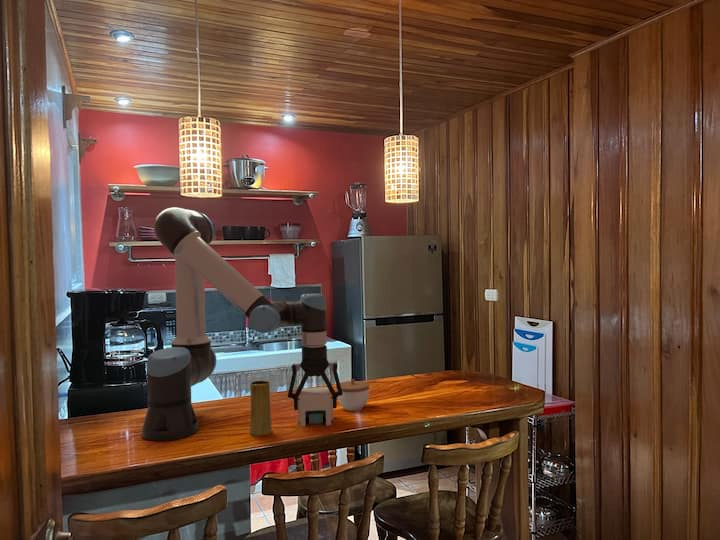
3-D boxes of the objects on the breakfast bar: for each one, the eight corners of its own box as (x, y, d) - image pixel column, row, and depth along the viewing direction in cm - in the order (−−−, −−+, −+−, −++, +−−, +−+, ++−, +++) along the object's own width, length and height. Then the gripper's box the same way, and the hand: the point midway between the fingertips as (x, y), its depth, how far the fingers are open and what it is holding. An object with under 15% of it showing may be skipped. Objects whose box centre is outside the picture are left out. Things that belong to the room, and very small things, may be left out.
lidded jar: (366, 413, 162) (365, 384, 162) (333, 412, 164) (332, 383, 164) (372, 404, 172) (371, 376, 172) (341, 403, 174) (340, 375, 174)
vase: (246, 435, 143) (245, 384, 143) (254, 428, 149) (253, 379, 149) (268, 436, 142) (267, 385, 142) (274, 429, 148) (273, 380, 148)
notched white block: (301, 417, 159) (300, 388, 159) (330, 416, 160) (329, 387, 160) (300, 426, 150) (299, 395, 150) (331, 425, 151) (330, 394, 151)
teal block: (309, 420, 157) (308, 410, 157) (322, 419, 157) (321, 409, 157) (309, 424, 153) (309, 414, 153) (322, 423, 153) (322, 413, 153)
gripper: (349, 342, 159) (350, 414, 160) (278, 344, 158) (280, 417, 158) (351, 346, 152) (352, 421, 152) (276, 348, 150) (278, 425, 150)
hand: (315, 419), depth 155 cm, fingers closed on notched white block, 9 cm apart
